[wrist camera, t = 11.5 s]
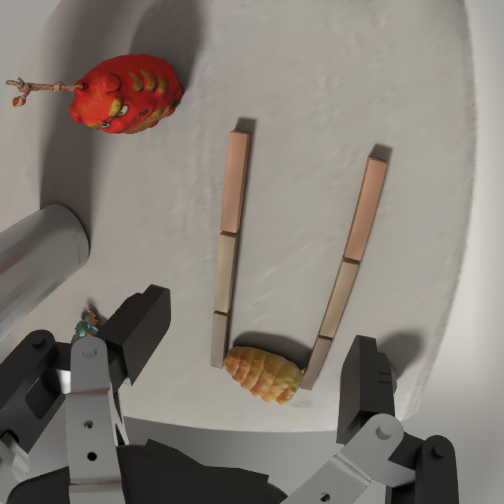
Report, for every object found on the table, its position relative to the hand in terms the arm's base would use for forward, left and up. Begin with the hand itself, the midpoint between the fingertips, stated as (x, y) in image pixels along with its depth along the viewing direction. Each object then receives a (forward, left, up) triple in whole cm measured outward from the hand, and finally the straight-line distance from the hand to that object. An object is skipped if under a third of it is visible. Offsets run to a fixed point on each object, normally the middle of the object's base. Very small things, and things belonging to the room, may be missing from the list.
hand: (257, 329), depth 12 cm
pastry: (-1, -19, -18) cm, 26 cm away
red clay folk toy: (-15, +7, -18) cm, 25 cm away
